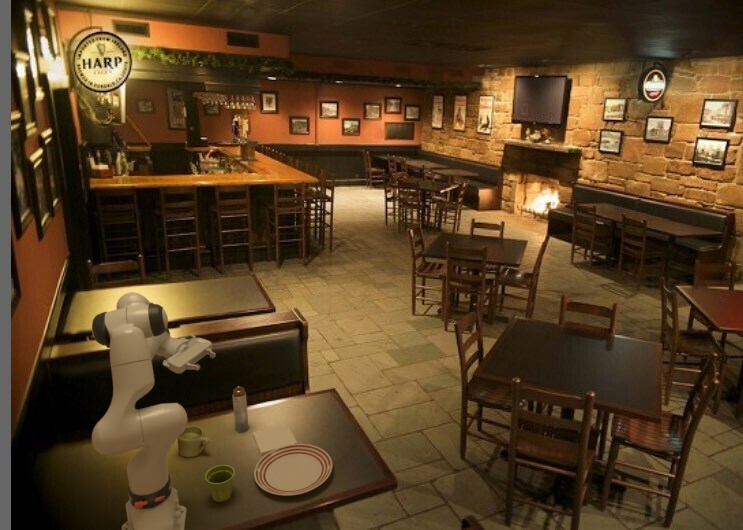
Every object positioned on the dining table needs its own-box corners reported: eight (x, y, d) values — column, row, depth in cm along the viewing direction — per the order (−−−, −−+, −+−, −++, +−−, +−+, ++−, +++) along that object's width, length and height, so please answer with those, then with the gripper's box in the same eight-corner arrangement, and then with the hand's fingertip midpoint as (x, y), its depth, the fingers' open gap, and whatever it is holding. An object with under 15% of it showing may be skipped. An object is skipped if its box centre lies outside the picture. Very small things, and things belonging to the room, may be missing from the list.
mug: (167, 451, 190) (174, 426, 189) (188, 444, 199) (195, 420, 198) (189, 467, 185) (197, 442, 184) (210, 459, 194) (217, 435, 193)
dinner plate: (239, 492, 172) (238, 484, 171) (277, 444, 197) (276, 437, 197) (314, 510, 165) (313, 502, 164) (343, 458, 190) (343, 450, 189)
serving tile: (297, 445, 196) (297, 442, 196) (261, 455, 191) (261, 452, 190) (286, 426, 209) (286, 423, 208) (252, 435, 203) (252, 432, 202)
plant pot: (219, 483, 176) (217, 461, 174) (242, 490, 173) (240, 468, 171) (201, 501, 168) (198, 479, 166) (225, 509, 165) (222, 486, 162)
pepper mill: (249, 430, 205) (246, 387, 200) (236, 434, 203) (233, 390, 198) (247, 424, 210) (243, 381, 204) (234, 427, 208) (230, 384, 202)
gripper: (159, 357, 194) (189, 368, 190) (195, 332, 212) (222, 343, 208) (159, 370, 197) (189, 382, 193) (195, 345, 214) (222, 356, 210)
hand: (207, 361), depth 200 cm, fingers open, 8 cm apart
